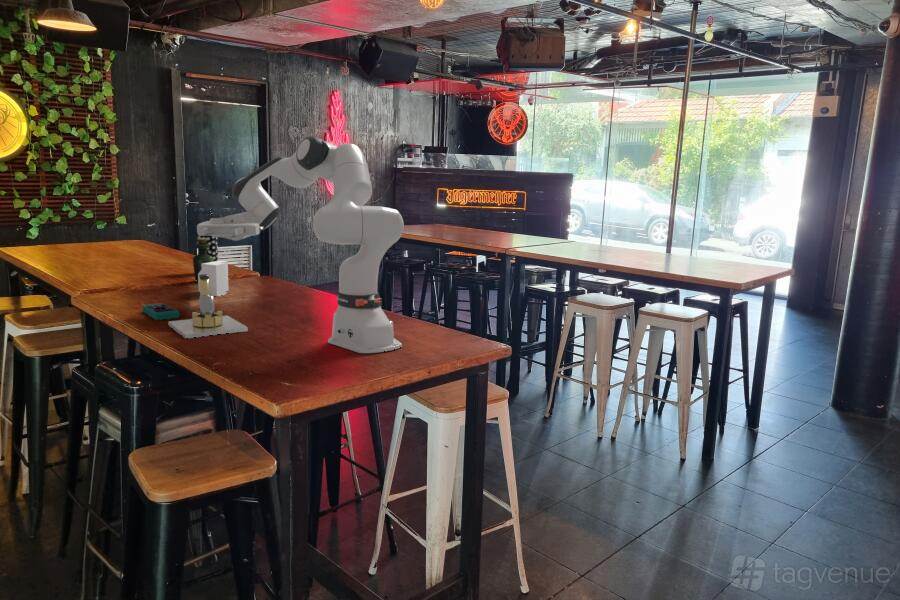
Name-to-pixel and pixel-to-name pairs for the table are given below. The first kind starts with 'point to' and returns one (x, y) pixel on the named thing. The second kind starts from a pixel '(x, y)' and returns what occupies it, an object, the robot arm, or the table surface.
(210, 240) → the white-spotted black cylinder
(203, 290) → the brass metal fixture
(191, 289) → the table surface
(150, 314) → the digital multimeter
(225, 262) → the corner bracket
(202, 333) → the spigot base
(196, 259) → the potion bottle
